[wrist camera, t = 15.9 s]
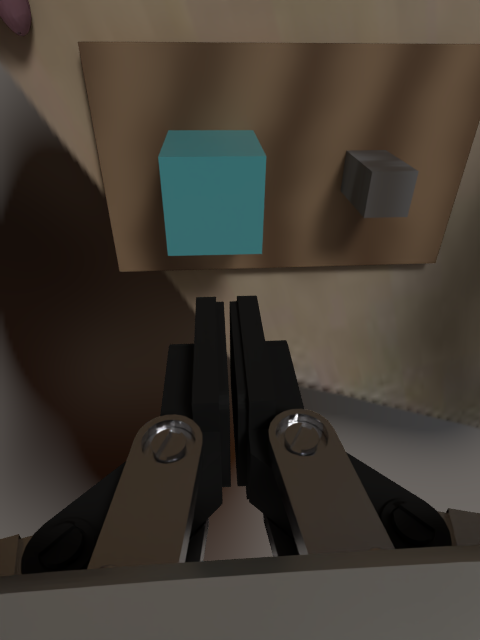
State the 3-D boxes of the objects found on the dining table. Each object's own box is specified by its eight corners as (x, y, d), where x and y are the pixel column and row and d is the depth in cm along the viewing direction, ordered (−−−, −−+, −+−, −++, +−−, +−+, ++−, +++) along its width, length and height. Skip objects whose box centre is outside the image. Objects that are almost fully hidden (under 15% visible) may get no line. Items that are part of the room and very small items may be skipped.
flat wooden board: (492, 44, 24) (565, 46, 20) (429, 257, 32) (469, 297, 28) (82, 41, 23) (49, 43, 18) (121, 265, 31) (106, 309, 26)
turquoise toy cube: (253, 130, 25) (266, 156, 20) (251, 211, 28) (261, 253, 23) (168, 130, 25) (158, 156, 20) (175, 213, 28) (168, 255, 23)
